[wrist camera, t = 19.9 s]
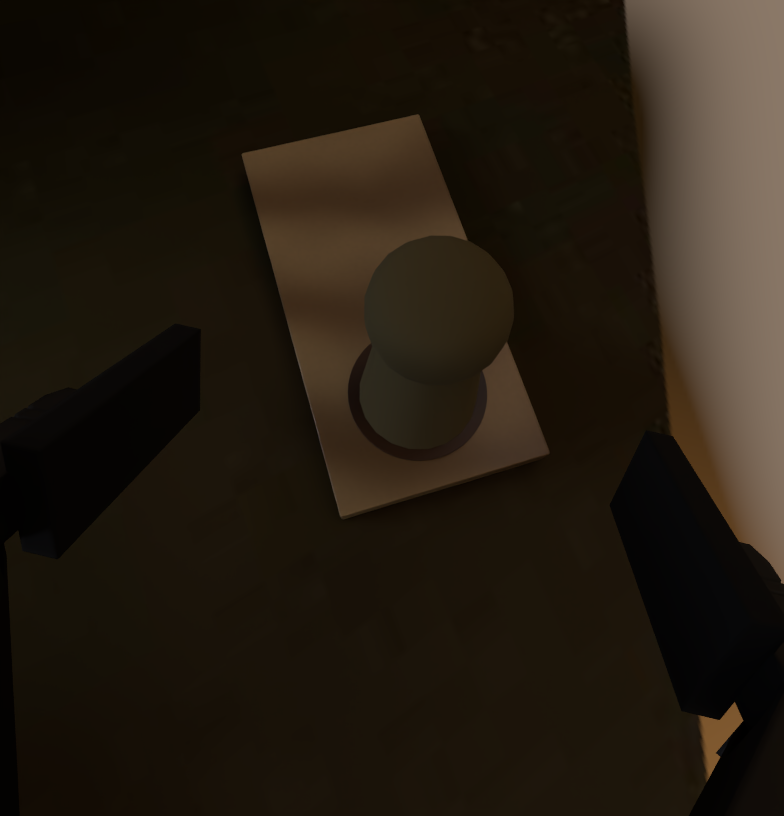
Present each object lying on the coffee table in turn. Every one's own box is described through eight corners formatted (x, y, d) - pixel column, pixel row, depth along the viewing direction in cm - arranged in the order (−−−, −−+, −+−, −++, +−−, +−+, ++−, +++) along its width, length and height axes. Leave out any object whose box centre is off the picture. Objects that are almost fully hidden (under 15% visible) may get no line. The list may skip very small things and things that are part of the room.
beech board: (246, 171, 33) (240, 150, 32) (417, 132, 34) (419, 111, 33) (342, 520, 28) (340, 517, 26) (542, 459, 29) (552, 452, 27)
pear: (482, 347, 29) (545, 219, 18) (469, 458, 27) (531, 389, 16) (369, 329, 29) (366, 192, 18) (349, 439, 27) (333, 359, 16)
